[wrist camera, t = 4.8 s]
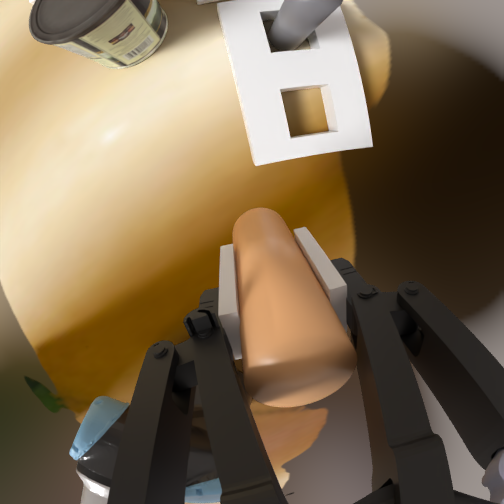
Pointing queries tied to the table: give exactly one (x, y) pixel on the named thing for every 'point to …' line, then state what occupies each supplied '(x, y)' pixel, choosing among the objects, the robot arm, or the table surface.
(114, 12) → the coffee can
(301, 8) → the ball
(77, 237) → the table surface
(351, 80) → the housing
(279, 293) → the jaw pin orange
